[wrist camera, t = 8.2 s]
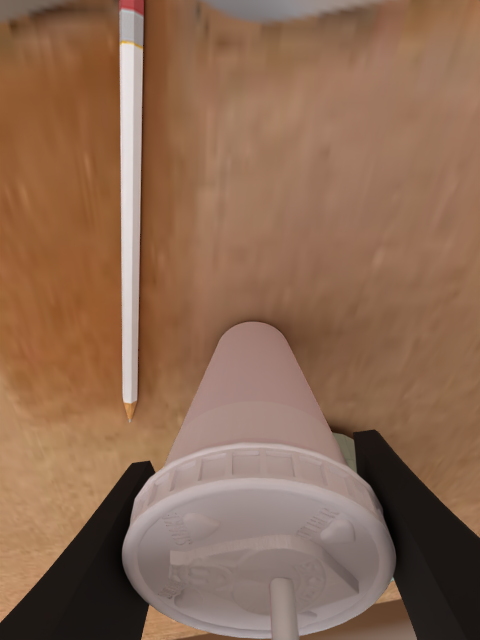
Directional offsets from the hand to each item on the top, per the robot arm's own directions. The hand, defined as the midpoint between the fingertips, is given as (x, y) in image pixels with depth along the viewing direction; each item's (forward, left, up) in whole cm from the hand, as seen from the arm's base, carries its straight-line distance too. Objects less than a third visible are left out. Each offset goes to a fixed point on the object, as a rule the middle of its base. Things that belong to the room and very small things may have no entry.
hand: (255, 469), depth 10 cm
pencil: (+5, -6, -7) cm, 10 cm away
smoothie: (0, 0, -7) cm, 7 cm away
